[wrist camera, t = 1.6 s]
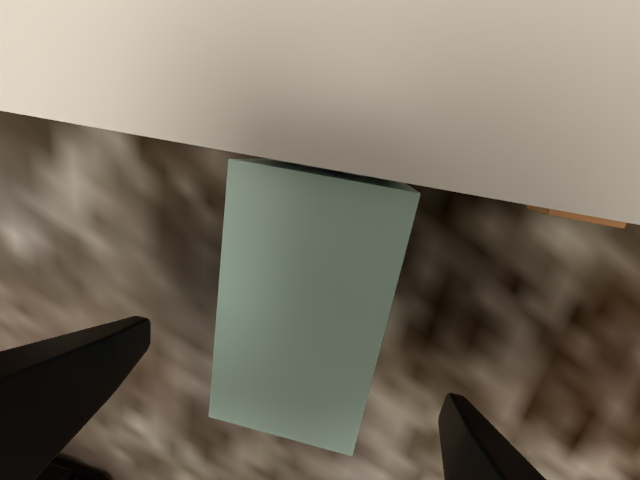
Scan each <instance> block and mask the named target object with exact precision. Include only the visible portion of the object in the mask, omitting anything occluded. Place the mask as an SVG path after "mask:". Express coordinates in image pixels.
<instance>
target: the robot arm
mask: <svg viewBox="0 0 640 480" xmlns="http://www.w3.org/2000/svg"><path fill="white" fill-rule="evenodd" d="M150 330H151V323H150V320H149V319H148V318H144V317H140V316H133V317H129V318H126V319H122V320H118V321H114V322H111V323H107V324H103V325H99V326H95V327H92V328H88V329H84V330H80V331H76V332H73V333H69V334H65V335H61V336H58V337H54V338H50V339H46V340H42V341H39V342H35V343H31V344H27V345H24V346H20V347H16V348H12V349H8V350H5V351H1V352H0V480H108V478H107V477H106V476H105V475H104V474H102V473H99V472H96V471H92V470H89V469H86V468H83V467H79V466H76V465H73V464H70V463H66V462H63V461H60V460H57V459H54V458H55V457H56V456H57V455H58V453H59V452H60V451H61V450H62V449H63V448H64V447H65V446H66V445H67V444H68V443H69V442H70V440H71V439H72V438H73V437H74V436H75V435H76V434H77V433H78V432H79V431H80V430H81V428H82V427H83V426H84V425H85V424H86V423H87V422H88V421H89V420H90V419H91V418H92V417H93V415H94V414H95V413H96V412H97V411H98V410H99V409H100V408H101V407H102V406H103V405H104V403H105V402H106V401H107V400H108V399H109V398H110V397H111V396H112V394H113V393H114V392H115V391H116V390H117V388H118V387H119V386H120V385H121V383H122V382H123V381H124V379H125V378H126V377H127V376H128V374H129V373H130V372H131V370H132V369H133V368H134V366H135V365H136V364H137V363H138V361H139V360H140V359H141V357H142V356H143V355H144V353H145V352H146V351H147V349H148V347H149V345H150ZM438 424H439V434H440V443H441V451H442V460H443V469H444V478H445V480H546V479H545V478H544V477H543V476H542V475H541V474H540V473H539V472H538V471H537V470H536V469H535V468H534V467H533V466H532V465H531V464H530V463H529V462H528V461H527V460H526V459H525V458H524V457H523V456H522V455H521V454H520V453H519V452H518V451H517V450H516V449H515V448H514V447H513V446H512V445H511V444H510V442H509V441H508V440H507V439H506V438H505V437H504V436H503V435H502V434H501V433H500V432H499V431H498V430H497V429H496V428H495V427H494V426H493V425H492V424H491V423H490V422H489V421H488V420H487V419H486V418H485V417H484V416H483V415H482V414H481V413H480V412H479V411H478V410H477V409H476V408H475V407H474V406H473V405H472V404H471V403H470V402H469V401H468V400H467V399H466V398H465V397H464V396H462V395H458V394H453V393H448V394H447V395H446V397H445V400H444V403H443V406H442V409H441V412H440V415H439V421H438Z"/></svg>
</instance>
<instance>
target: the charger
mask: <svg viewBox="0 0 640 480" xmlns="http://www.w3.org/2000/svg"><path fill="white" fill-rule="evenodd" d="M420 194H421V193H419V192H418V191H416V190H415V189H413V188H412V187H410V186H408V185H407V184H405V183H403V182H397V181H392V180H386V179H380V178H375V177H369V176H364V175H358V174H352V173H347V172H341V171H336V170H330V169H325V168H319V167H313V166H308V165H302V164H297V163H291V162H285V161H280V160H274V159H228V171H227V184H226V197H225V210H224V223H223V236H222V249H221V262H220V275H219V288H218V301H217V314H216V327H215V340H214V353H213V366H212V378H211V391H210V404H209V417H211V418H214V419H218V420H222V421H225V422H229V423H233V424H236V425H240V426H243V427H247V428H251V429H254V430H258V431H262V432H265V433H269V434H272V435H276V436H280V437H283V438H287V439H291V440H294V441H298V442H301V443H305V444H309V445H312V446H316V447H320V448H323V449H327V450H331V451H334V452H338V453H341V454H345V455H349V456H353V452H354V448H355V444H356V440H357V437H358V433H359V429H360V425H361V421H362V417H363V414H364V410H365V406H366V402H367V398H368V394H369V390H370V387H371V383H372V379H373V375H374V371H375V367H376V364H377V360H378V356H379V352H380V348H381V344H382V340H383V337H384V333H385V329H386V325H387V321H388V317H389V314H390V310H391V306H392V302H393V298H394V294H395V290H396V287H397V283H398V279H399V275H400V271H401V267H402V264H403V260H404V256H405V252H406V248H407V244H408V240H409V237H410V233H411V229H412V225H413V221H414V217H415V213H416V210H417V206H418V202H419V198H420Z"/></svg>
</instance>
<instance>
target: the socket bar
mask: <svg viewBox="0 0 640 480" xmlns="http://www.w3.org/2000/svg"><path fill="white" fill-rule="evenodd" d="M0 111H6V112H11V113H17V114H23V115H28V116H34V117H39V118H45V119H51V120H56V121H62V122H67V123H73V124H78V125H84V126H90V127H95V128H101V129H106V130H112V131H117V132H123V133H128V134H134V135H140V136H145V137H151V138H156V139H162V140H168V141H173V142H179V143H184V144H190V145H196V146H202V147H207V148H213V149H218V150H224V151H229V152H235V153H241V154H246V155H252V156H257V157H263V158H269V159H274V160H280V161H285V162H291V163H297V164H302V165H308V166H313V167H319V168H325V169H330V170H336V171H341V172H347V173H352V174H358V175H364V176H369V177H375V178H380V179H386V180H392V181H397V182H403V183H408V184H414V185H420V186H425V187H431V188H436V189H442V190H448V191H453V192H459V193H464V194H470V195H475V196H481V197H487V198H492V199H498V200H503V201H509V202H515V203H520V204H526V205H527V207H526V208H528V209H531V210H534V211H537V212H541V213H544V214H547V215H552V216H557V217H563V218H568V219H574V220H579V221H585V222H591V223H596V224H602V225H607V226H613V227H618V228H625V226H626V223H632V224H638V225H640V0H0Z"/></svg>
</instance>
